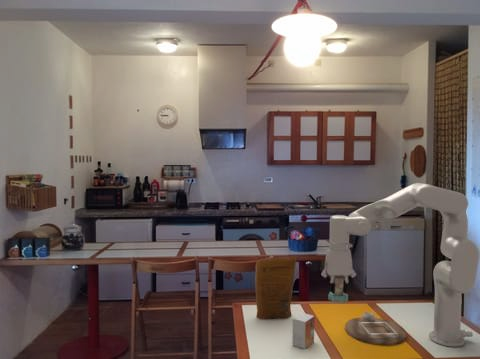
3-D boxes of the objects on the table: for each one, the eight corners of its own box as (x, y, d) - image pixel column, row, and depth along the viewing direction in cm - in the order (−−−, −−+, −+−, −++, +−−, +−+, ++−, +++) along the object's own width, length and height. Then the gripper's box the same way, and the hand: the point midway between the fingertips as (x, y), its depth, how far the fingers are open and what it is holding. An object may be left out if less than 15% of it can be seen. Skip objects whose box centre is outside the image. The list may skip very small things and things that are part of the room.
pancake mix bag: (297, 319, 181) (298, 257, 180) (255, 321, 179) (256, 258, 177) (293, 313, 188) (294, 254, 187) (252, 315, 185) (253, 255, 184)
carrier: (391, 320, 181) (391, 310, 181) (416, 344, 157) (417, 333, 157) (338, 320, 180) (338, 310, 180) (355, 345, 156) (356, 334, 156)
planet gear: (344, 296, 165) (345, 274, 165) (350, 302, 158) (351, 279, 157) (326, 296, 165) (326, 274, 165) (331, 302, 157) (331, 280, 157)
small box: (304, 349, 153) (305, 322, 152) (291, 345, 156) (292, 318, 156) (314, 342, 159) (315, 315, 159) (301, 338, 163) (302, 312, 162)
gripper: (356, 244, 165) (355, 289, 165) (316, 244, 164) (315, 289, 165) (363, 248, 157) (362, 295, 158) (320, 248, 156) (319, 295, 157)
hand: (338, 291), depth 161 cm, fingers closed on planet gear, 4 cm apart
